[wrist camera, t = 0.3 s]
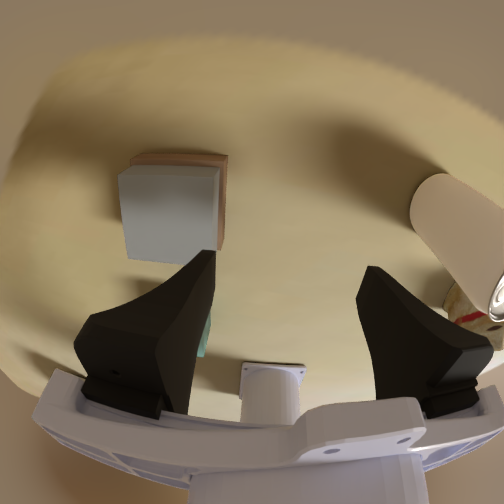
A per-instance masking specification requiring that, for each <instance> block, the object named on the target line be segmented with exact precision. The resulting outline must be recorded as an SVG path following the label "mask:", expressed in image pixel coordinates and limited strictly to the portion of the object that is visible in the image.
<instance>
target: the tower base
mask: <svg viewBox="0 0 504 504" xmlns="http://www.w3.org/2000/svg"><path fill="white" fill-rule="evenodd" d="M227 164H228V156H227V155H208V154H176V153H142V154H139V155H137V156H136V157H134V158H132V159H130V167H131V166H132V165H174V166H201V167H220V175H219V200H218V233H217V250H221V248H222V244H223V240H224V229H225V204H226V183H227Z"/></svg>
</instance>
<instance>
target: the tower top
mask: <svg viewBox="0 0 504 504" xmlns="http://www.w3.org/2000/svg"><path fill="white" fill-rule="evenodd" d="M219 175H220V167H201V166H174V165H132V166H131V167H129V168H127V169H126V170H124V171H123V172H121V173H119V174H118V175H117V178H118V189H119V199H120V207H121V216H122V223H123V230H124V237H125V243H126V249H127V255H128V259H134V260H143V261H152V262H161V263H170V264H180V265H186V264H187V263H188V262H189V261H191V260H192V259H193V258H194V257H195V256H196V255H197V254H198V253H199V252H200V251H201V250H202V249H204V250H214V251H216V252H217V233H218V200H219Z"/></svg>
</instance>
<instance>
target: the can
mask: <svg viewBox="0 0 504 504" xmlns="http://www.w3.org/2000/svg"><path fill="white" fill-rule="evenodd" d="M410 220H411V224H412V226H413V228H414V230H415V232H416V233H417V234H418V235H419V237H420V238H421V239H422V240H423V241H424V242H425V244H426V245H427V246H428V247H429V248H430V249H431V251H432V252H433V253H434V254H435V255H436V257H437V258H438V259H439V260H440V262H441V263H442V264H443V265H444V267H445V268H446V269H447V270H448V272H449V273H450V274H451V276H452V277H453V278H454V279H455V281H456V282H457V283H458V285H459V286H460V287H461V289H462V290H463V291H464V293H465V294H466V296H467V297H468V298H469V300H470V301H471V302H472V304H473V305H474V306H475V307H476V308H477V309H478V310H480V311H482V312H484V313H486V314H488V316H489V318H490V319H491V320H492V321H494V322H500V321H504V209H503V208H501V207H500V206H498V205H497V204H496V203H494V202H493V201H491V200H490V199H488V198H487V197H486V196H484V195H483V194H481V193H479V192H478V191H476V190H475V189H473V188H472V187H470V186H468V185H467V184H465V183H463V182H462V181H460V180H458V179H457V178H455V177H453V176H451V175H448V174H444V173H441V174H435V175H433V176H431V177H429V178H427V179H426V180H425V181H424V182H423V183H422V184H421V185H420V186H419V187H418V189H417V190H416V192H415V194H414V196H413V199H412V202H411V206H410Z"/></svg>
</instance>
